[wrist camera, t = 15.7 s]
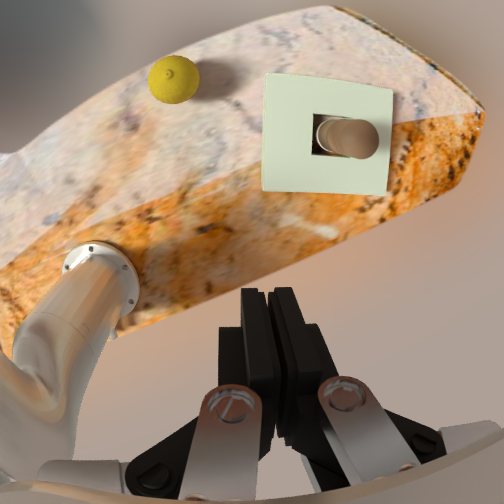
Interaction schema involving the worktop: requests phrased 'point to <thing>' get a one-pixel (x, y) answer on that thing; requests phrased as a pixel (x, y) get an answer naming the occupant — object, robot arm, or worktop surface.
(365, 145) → the peg
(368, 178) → the board
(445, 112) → the worktop surface
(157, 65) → the lemon
